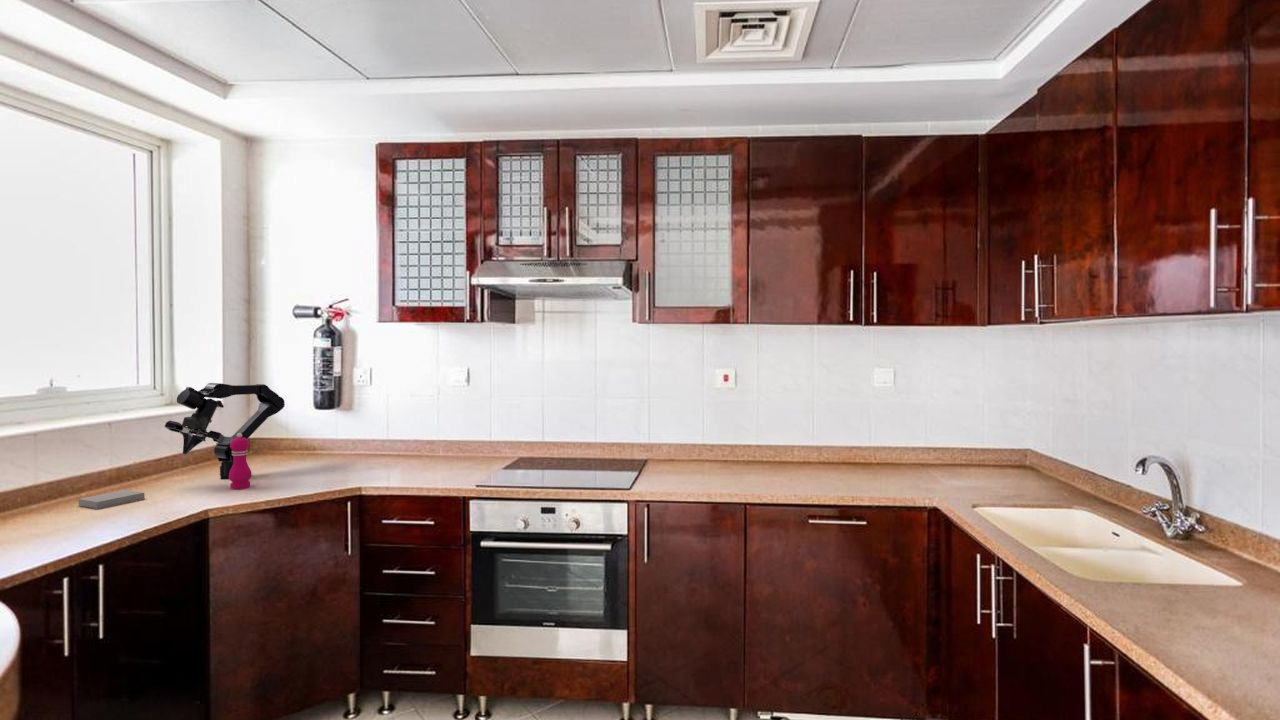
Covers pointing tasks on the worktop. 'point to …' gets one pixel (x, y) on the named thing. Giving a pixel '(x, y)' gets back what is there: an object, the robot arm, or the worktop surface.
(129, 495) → the tile
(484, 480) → the worktop surface
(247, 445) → the pepper mill
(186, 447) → the robot arm
